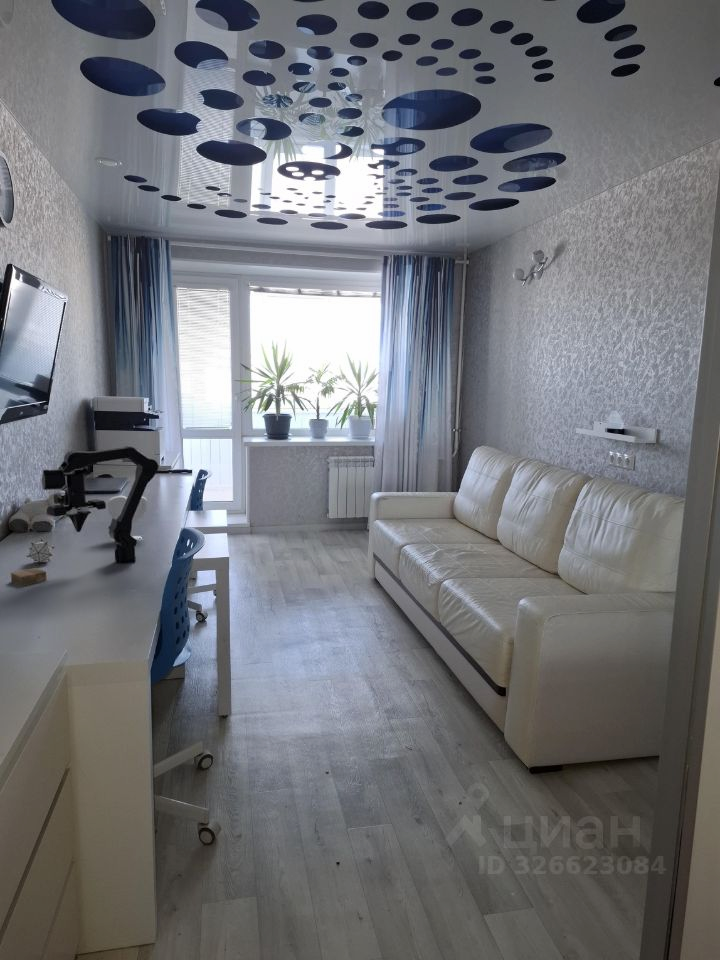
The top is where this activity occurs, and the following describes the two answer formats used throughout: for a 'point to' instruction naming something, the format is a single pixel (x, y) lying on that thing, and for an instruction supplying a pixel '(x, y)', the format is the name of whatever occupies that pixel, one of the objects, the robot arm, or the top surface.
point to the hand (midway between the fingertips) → (78, 531)
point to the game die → (40, 552)
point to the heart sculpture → (118, 503)
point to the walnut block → (28, 576)
